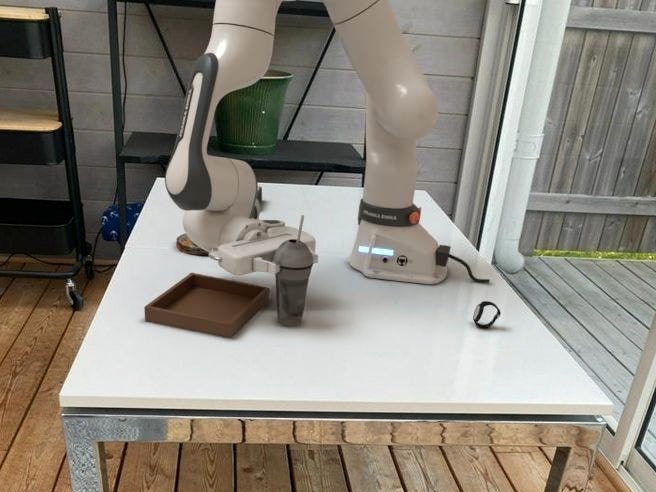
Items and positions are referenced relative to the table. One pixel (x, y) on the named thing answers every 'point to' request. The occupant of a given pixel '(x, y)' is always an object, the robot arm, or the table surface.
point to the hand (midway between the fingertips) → (297, 264)
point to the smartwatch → (479, 313)
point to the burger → (189, 246)
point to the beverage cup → (292, 279)
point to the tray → (208, 305)
